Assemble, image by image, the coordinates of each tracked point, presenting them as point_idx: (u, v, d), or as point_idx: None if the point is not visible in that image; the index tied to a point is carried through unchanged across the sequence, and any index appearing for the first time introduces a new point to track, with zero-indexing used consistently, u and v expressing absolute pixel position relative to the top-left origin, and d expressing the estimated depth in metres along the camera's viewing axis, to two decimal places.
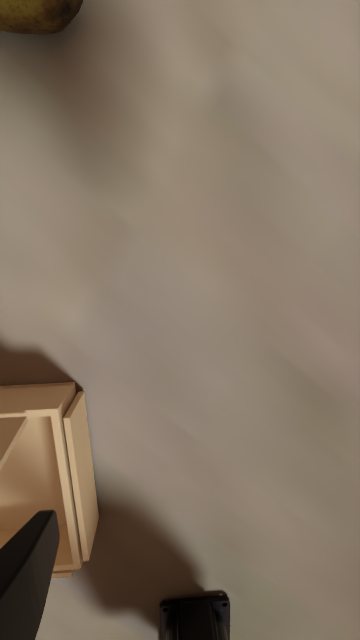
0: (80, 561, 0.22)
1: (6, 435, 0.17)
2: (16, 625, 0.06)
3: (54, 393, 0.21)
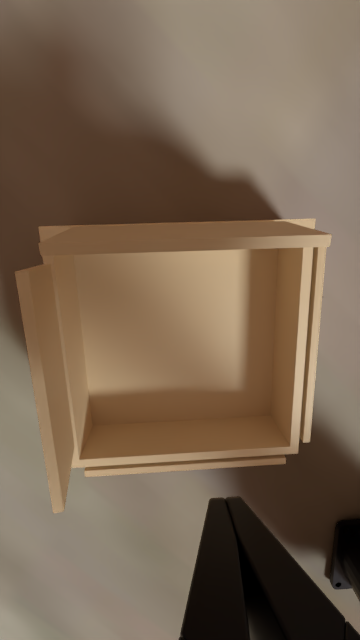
0: (297, 444, 0.18)
1: (286, 225, 0.13)
2: None
3: None
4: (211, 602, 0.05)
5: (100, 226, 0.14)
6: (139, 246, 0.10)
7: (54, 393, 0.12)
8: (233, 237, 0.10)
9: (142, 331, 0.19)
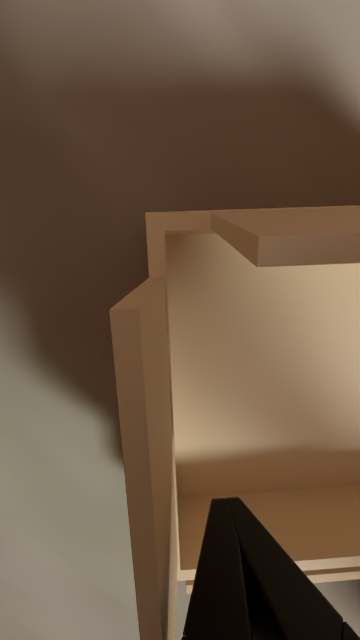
0: None
1: None
2: None
3: None
4: (213, 602, 0.05)
5: (258, 211, 0.08)
6: None
7: (164, 527, 0.07)
8: None
9: (256, 369, 0.13)
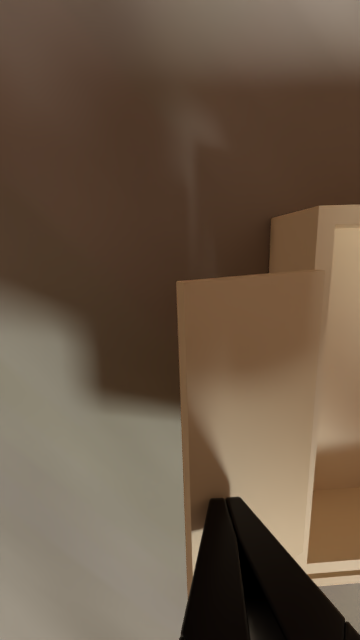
0: None
1: None
2: None
3: None
4: (211, 602, 0.05)
5: None
6: None
7: (233, 465, 0.08)
8: None
9: None
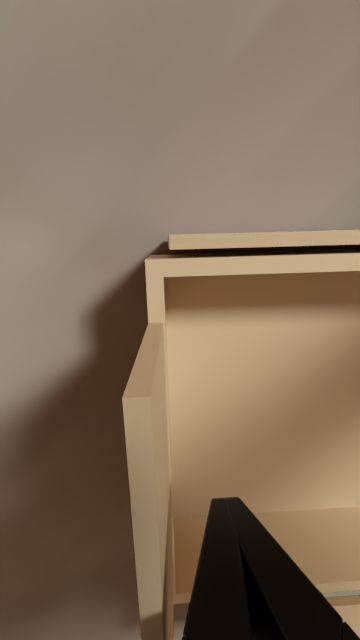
0: None
1: None
2: None
3: None
4: (213, 602, 0.05)
5: None
6: None
7: None
8: (137, 569, 0.05)
9: (293, 445, 0.14)
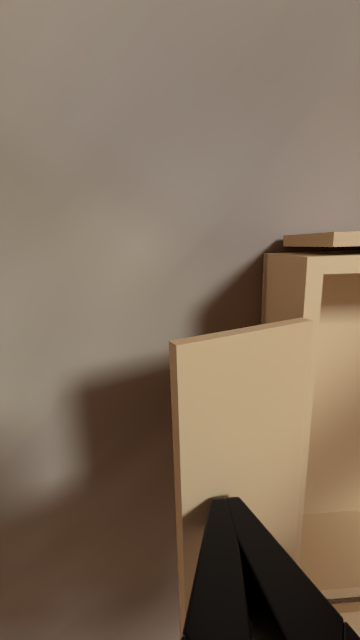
0: None
1: None
2: None
3: (278, 281, 0.11)
4: (212, 602, 0.05)
5: None
6: (180, 563, 0.08)
7: None
8: None
9: None
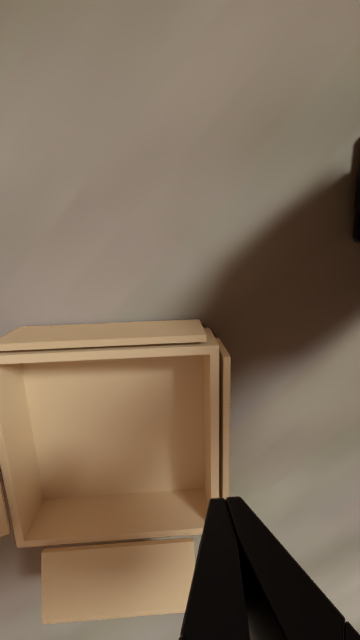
0: (209, 345, 0.17)
1: None
2: None
3: None
4: (211, 602, 0.05)
5: (5, 512, 0.19)
6: None
7: (124, 594, 0.19)
8: None
9: (116, 451, 0.22)
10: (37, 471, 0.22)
